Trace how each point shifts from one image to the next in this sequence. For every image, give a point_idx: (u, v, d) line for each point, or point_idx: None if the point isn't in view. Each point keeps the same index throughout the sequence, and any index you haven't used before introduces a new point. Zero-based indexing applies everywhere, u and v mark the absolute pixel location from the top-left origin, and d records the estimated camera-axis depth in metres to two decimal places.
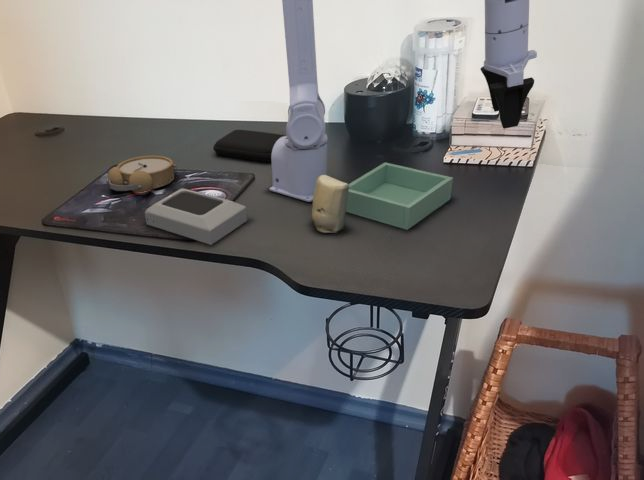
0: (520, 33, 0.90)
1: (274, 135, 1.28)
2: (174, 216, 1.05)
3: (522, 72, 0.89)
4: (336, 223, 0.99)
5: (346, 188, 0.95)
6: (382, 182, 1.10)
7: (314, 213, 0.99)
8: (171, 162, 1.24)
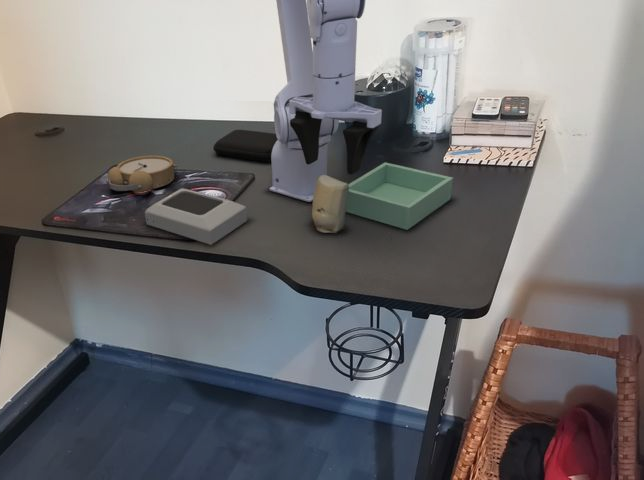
0: None
1: (274, 135, 1.28)
2: (174, 216, 1.05)
3: (289, 101, 0.94)
4: (336, 223, 0.99)
5: (346, 188, 0.95)
6: (382, 182, 1.10)
7: (314, 213, 0.99)
8: (171, 162, 1.24)
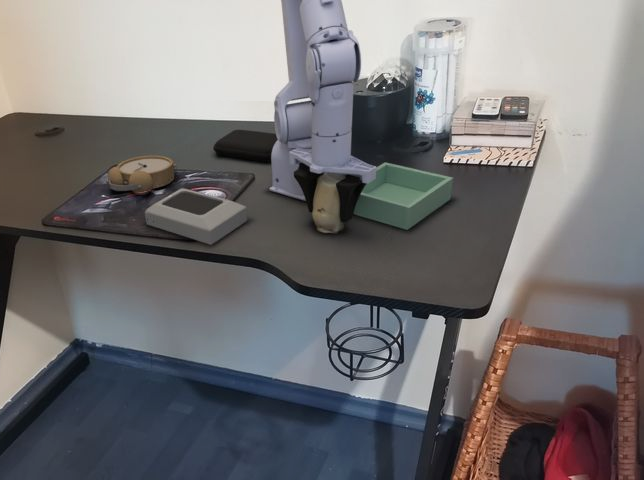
0: None
1: (274, 135, 1.28)
2: (174, 216, 1.05)
3: (289, 153, 0.99)
4: (336, 224, 0.99)
5: None
6: (382, 182, 1.10)
7: (314, 213, 0.99)
8: (171, 162, 1.23)
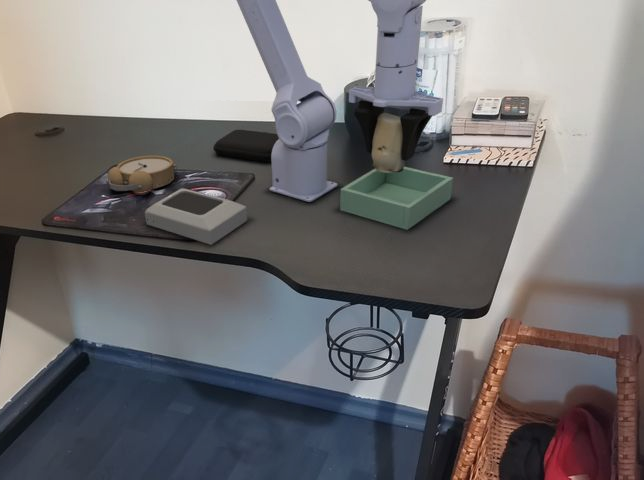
0: (375, 68, 0.91)
1: (274, 135, 1.28)
2: (174, 216, 1.05)
3: (349, 91, 0.97)
4: (397, 162, 0.97)
5: None
6: (382, 182, 1.10)
7: (374, 152, 0.98)
8: (171, 162, 1.24)
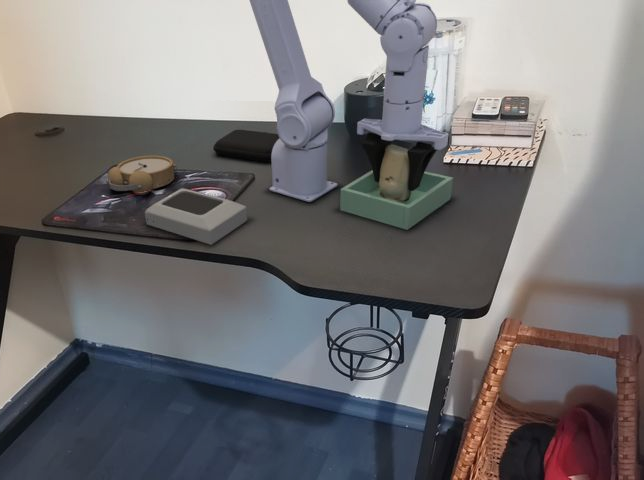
0: (383, 103, 0.95)
1: (274, 135, 1.28)
2: (174, 216, 1.05)
3: (357, 123, 1.01)
4: (404, 192, 1.01)
5: None
6: None
7: (381, 182, 1.01)
8: (171, 162, 1.24)
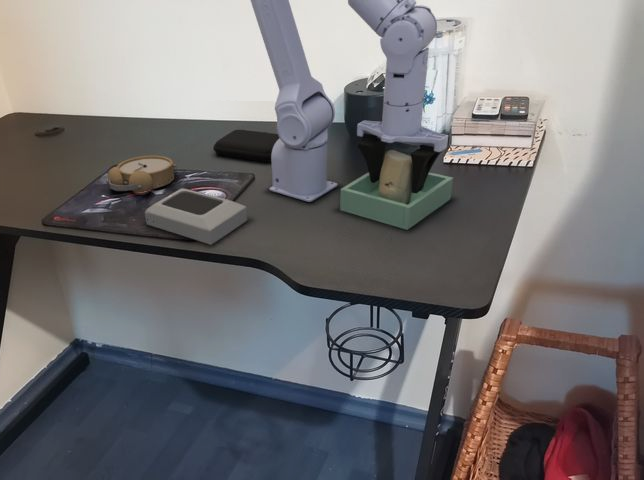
0: (383, 105, 0.95)
1: (274, 135, 1.28)
2: (174, 215, 1.05)
3: (357, 125, 1.01)
4: (403, 197, 1.01)
5: None
6: None
7: (381, 187, 1.02)
8: (171, 162, 1.24)
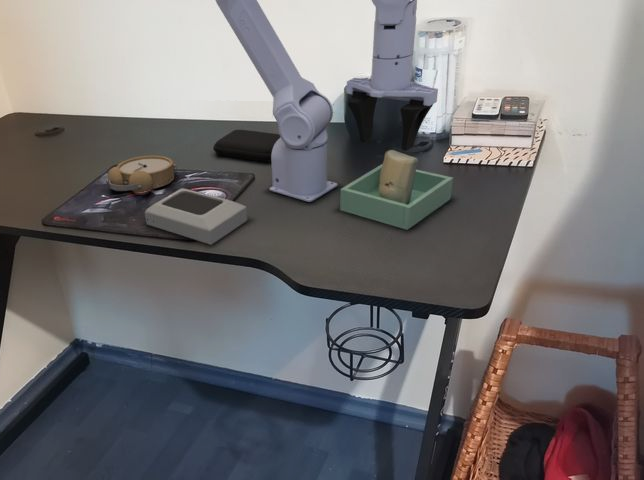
0: (372, 59, 0.94)
1: (274, 135, 1.28)
2: (174, 215, 1.05)
3: (347, 82, 1.00)
4: (403, 197, 1.01)
5: (415, 162, 0.98)
6: None
7: (381, 187, 1.02)
8: (171, 162, 1.24)
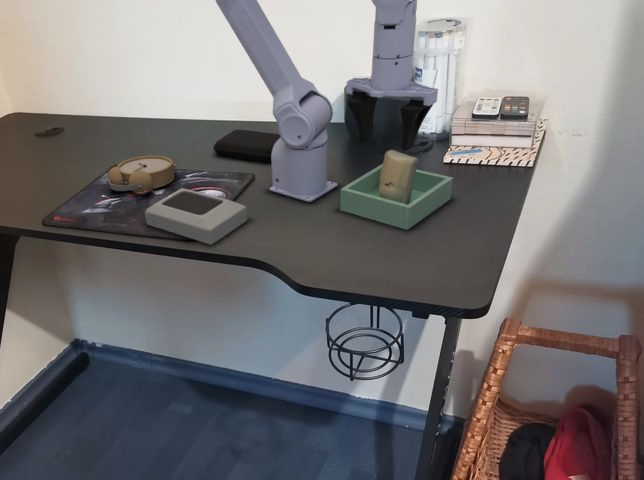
0: (372, 59, 0.94)
1: (274, 135, 1.28)
2: (174, 216, 1.05)
3: (347, 82, 1.00)
4: (403, 197, 1.01)
5: (415, 162, 0.98)
6: None
7: (381, 187, 1.02)
8: (171, 162, 1.23)
